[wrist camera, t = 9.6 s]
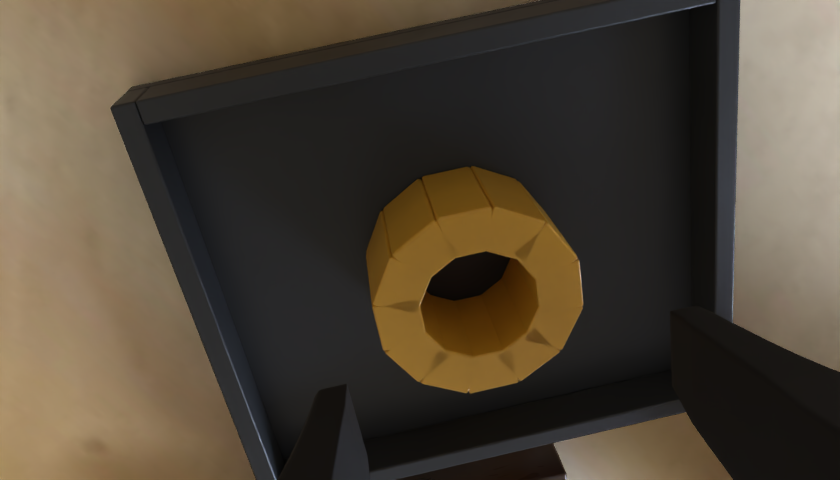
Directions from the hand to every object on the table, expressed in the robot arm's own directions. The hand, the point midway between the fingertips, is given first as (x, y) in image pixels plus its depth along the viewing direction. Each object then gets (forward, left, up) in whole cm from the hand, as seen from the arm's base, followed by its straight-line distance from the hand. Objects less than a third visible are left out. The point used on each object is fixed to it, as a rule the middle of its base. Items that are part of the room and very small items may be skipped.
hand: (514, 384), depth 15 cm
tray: (0, 0, -7) cm, 7 cm away
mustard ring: (0, 0, -6) cm, 6 cm away
